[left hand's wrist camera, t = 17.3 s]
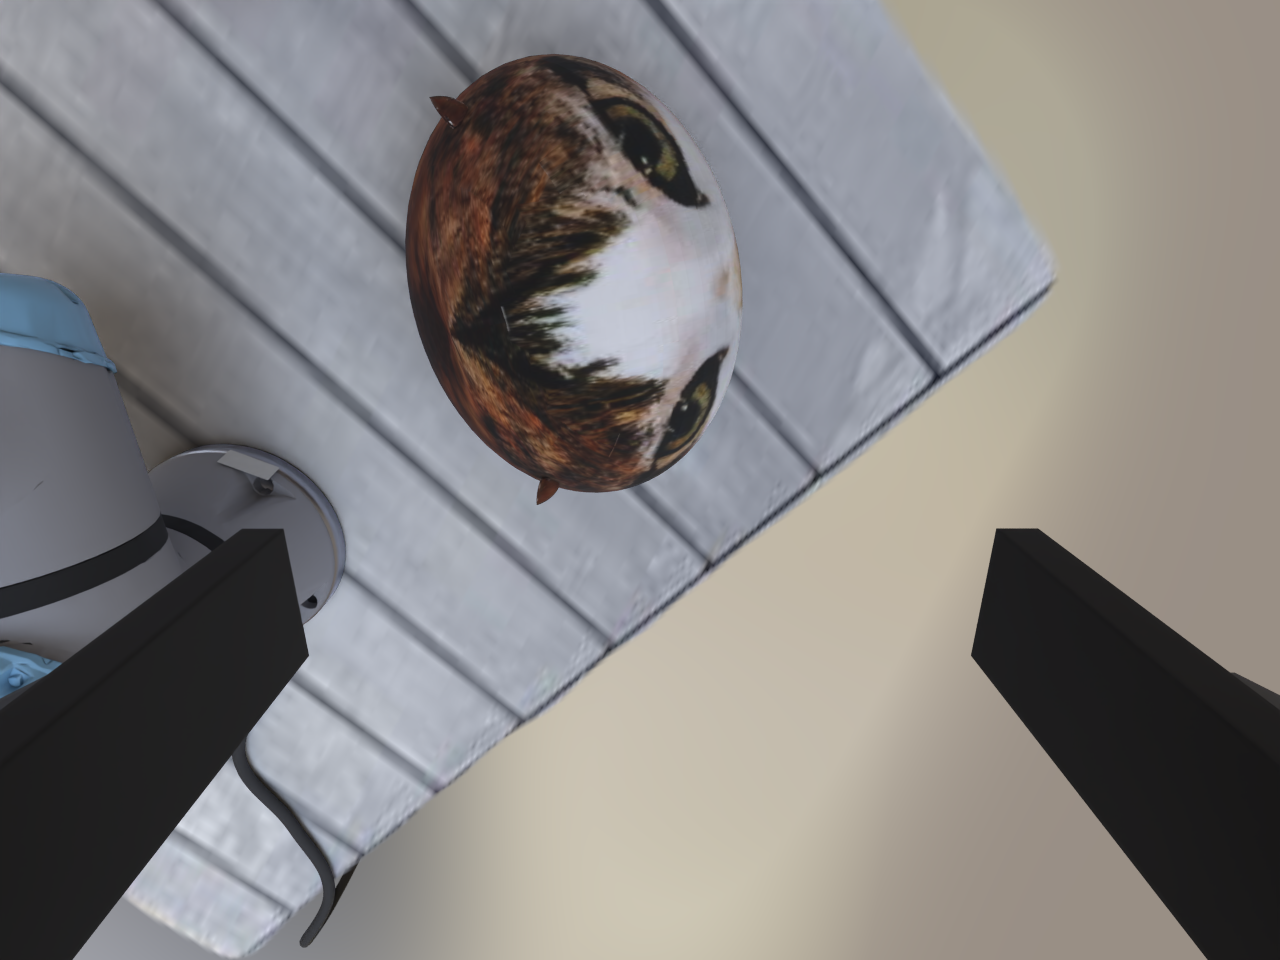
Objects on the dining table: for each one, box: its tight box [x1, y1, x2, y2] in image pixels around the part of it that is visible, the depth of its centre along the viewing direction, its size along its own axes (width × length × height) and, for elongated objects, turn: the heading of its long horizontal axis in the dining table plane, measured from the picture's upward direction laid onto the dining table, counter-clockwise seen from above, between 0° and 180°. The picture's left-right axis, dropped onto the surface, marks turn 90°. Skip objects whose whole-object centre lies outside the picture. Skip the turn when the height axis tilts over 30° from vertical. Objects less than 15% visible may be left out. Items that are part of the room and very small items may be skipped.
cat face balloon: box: [405, 54, 742, 505], centre depth 38 cm, size 22×18×20 cm
